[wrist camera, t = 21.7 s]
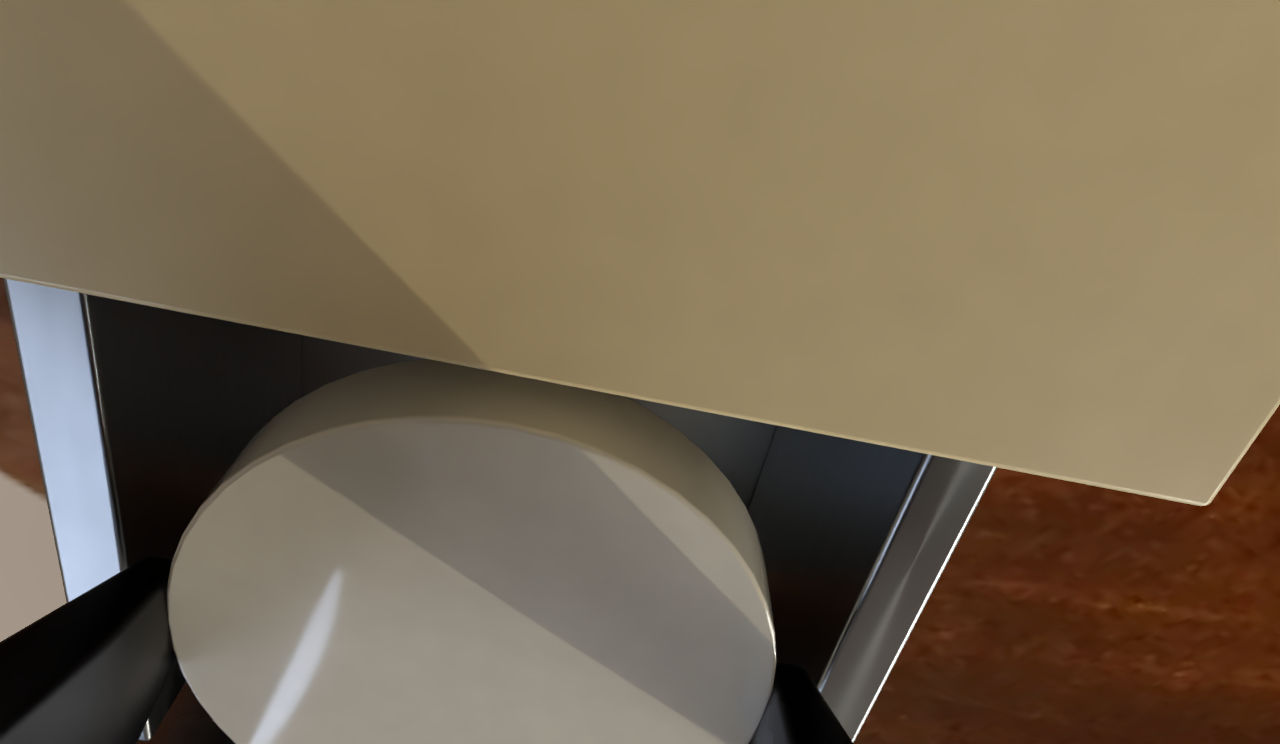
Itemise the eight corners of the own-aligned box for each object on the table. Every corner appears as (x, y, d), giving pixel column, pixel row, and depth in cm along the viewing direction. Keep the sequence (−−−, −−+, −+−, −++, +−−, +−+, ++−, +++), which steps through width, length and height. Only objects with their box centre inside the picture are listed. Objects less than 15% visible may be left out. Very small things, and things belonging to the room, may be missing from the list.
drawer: (712, 750, 21) (727, 1077, 16) (257, 676, 21) (92, 994, 15) (1010, -13, 12) (1315, 81, 7) (224, -198, 12) (-239, -280, 6)
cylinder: (693, 759, 13) (697, 878, 11) (246, 689, 12) (186, 804, 11) (832, 391, 10) (863, 490, 8) (223, 275, 9) (132, 356, 8)
